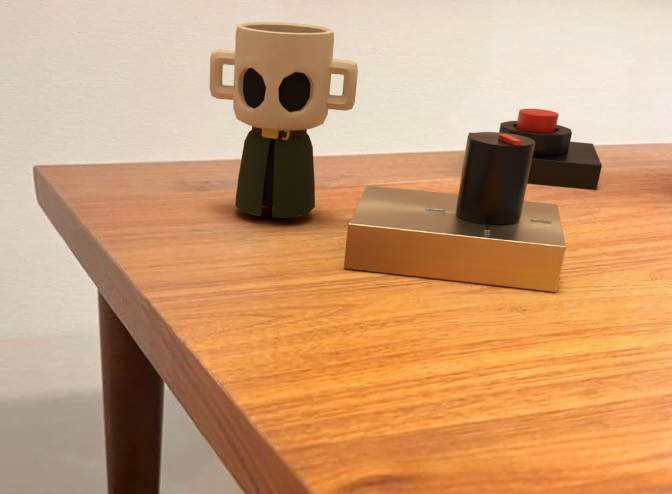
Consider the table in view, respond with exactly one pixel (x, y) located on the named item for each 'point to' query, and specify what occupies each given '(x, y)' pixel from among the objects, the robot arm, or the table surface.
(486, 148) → the knob
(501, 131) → the button box
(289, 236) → the table surface
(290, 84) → the character mug
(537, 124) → the button
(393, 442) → the table surface
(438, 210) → the panel
